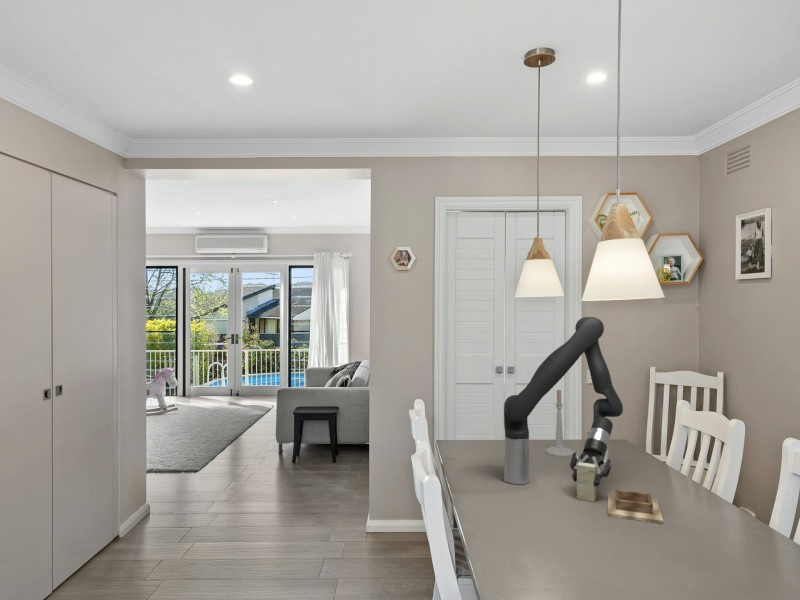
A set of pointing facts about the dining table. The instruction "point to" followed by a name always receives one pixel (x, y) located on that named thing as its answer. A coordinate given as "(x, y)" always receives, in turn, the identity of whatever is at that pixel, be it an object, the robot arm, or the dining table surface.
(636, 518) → the carrier plate
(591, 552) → the dining table surface
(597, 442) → the robot arm
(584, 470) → the skincare box
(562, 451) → the candlestick
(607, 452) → the jar
